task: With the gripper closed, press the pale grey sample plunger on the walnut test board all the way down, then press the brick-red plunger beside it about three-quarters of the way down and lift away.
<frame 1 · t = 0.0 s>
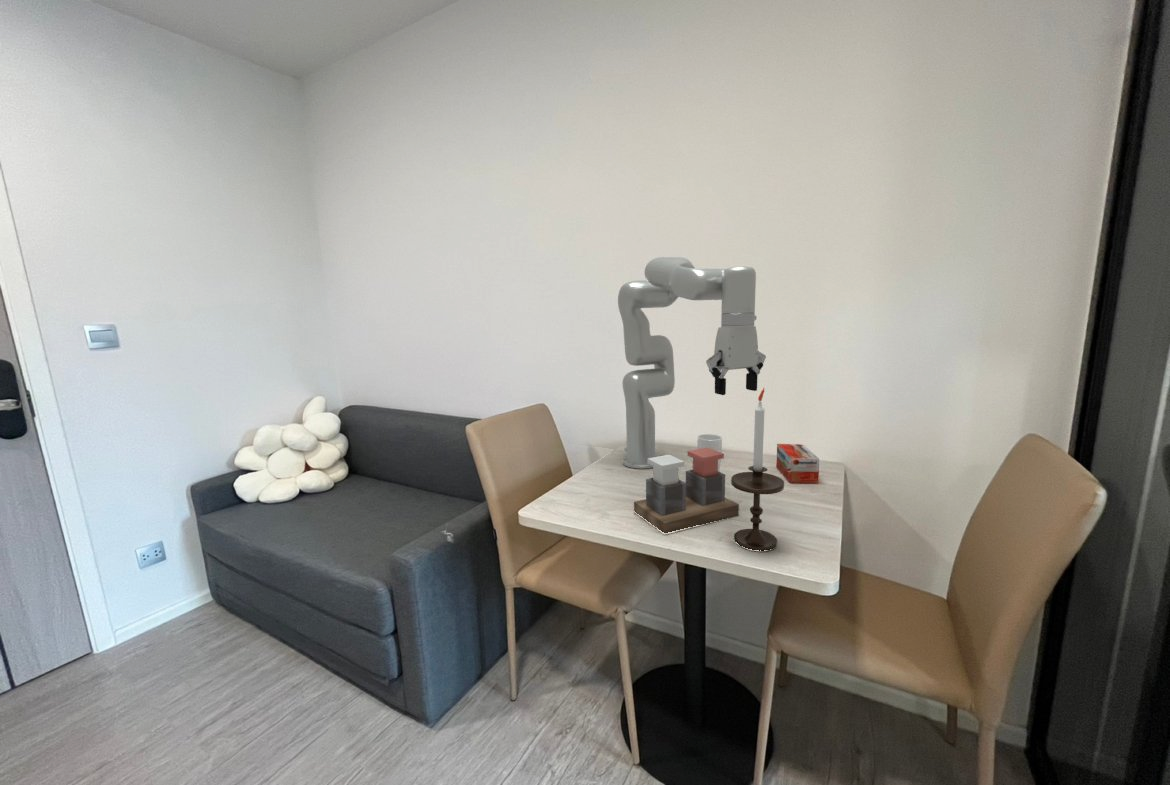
hand: (735, 392, 118), 31 cm above the table, tool pointing down, fingers open, 9 cm apart
drinking glass: (708, 487, 141), on the table
candlestick: (755, 542, 108), on the table
grey plunger: (665, 476, 119), point 11 cm above the table, slide at 0.0 cm
medicine box: (795, 476, 148), on the table
test board: (685, 514, 123), on the table
red plunger: (705, 467, 124), point 11 cm above the table, slide at 0.0 cm
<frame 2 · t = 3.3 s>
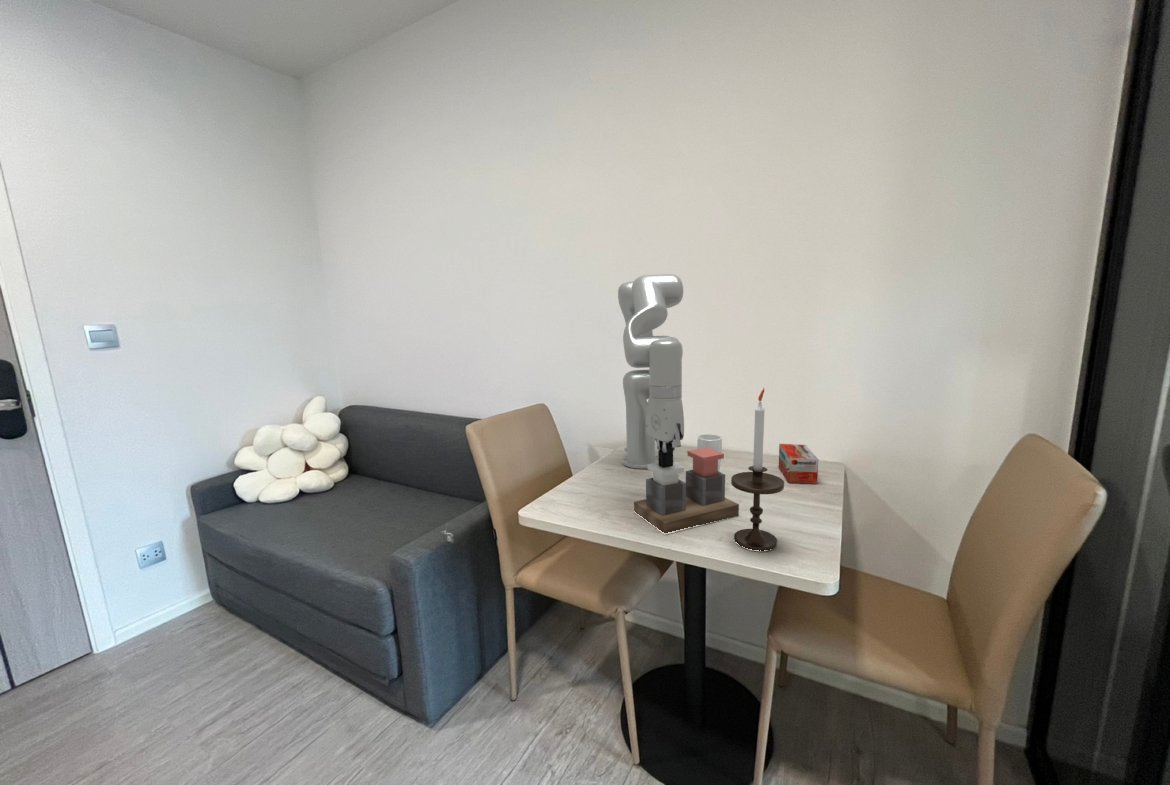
hand: (665, 466, 118), 14 cm above the table, tool pointing down, fingers closed
grey plunger: (665, 481, 119), point 10 cm above the table, slide at 1.5 cm, touching gripper
everything else where it was.
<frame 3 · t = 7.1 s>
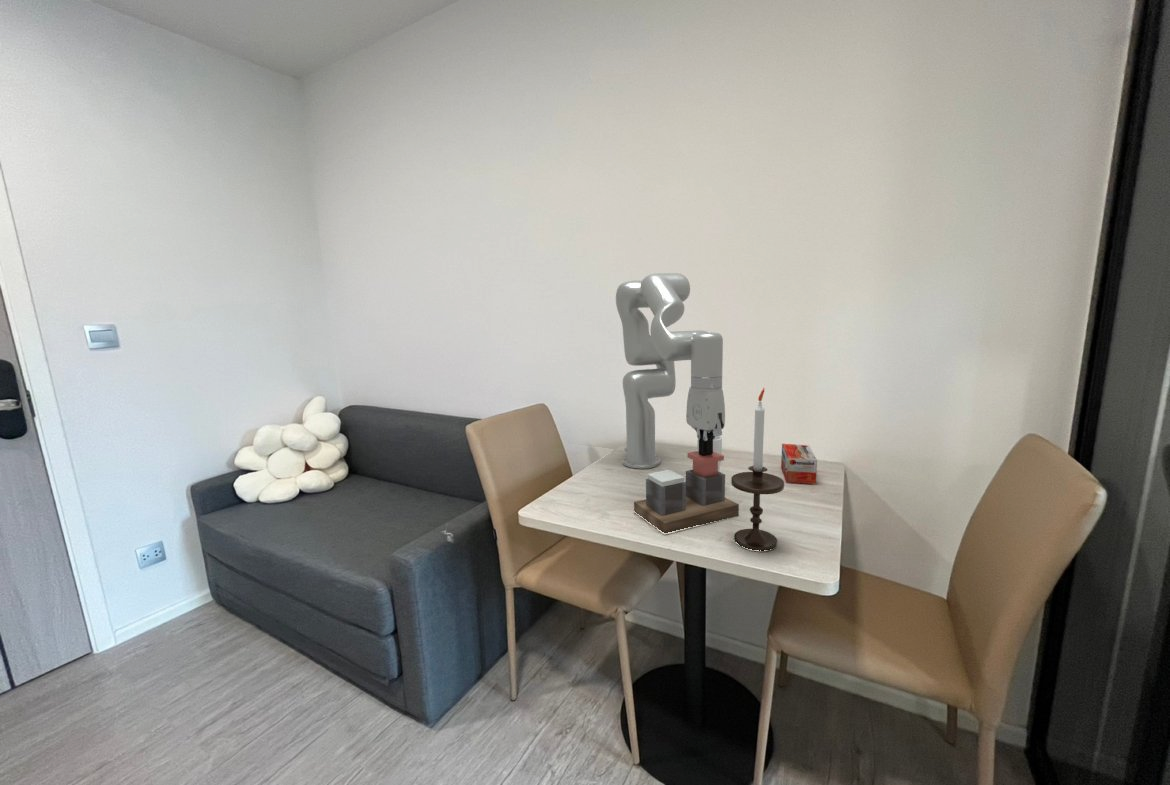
hand: (705, 454, 123), 15 cm above the table, tool pointing down, fingers closed
grey plunger: (665, 491, 119), point 7 cm above the table, slide at 4.0 cm
red plunger: (705, 469, 124), point 11 cm above the table, slide at 0.5 cm, touching gripper
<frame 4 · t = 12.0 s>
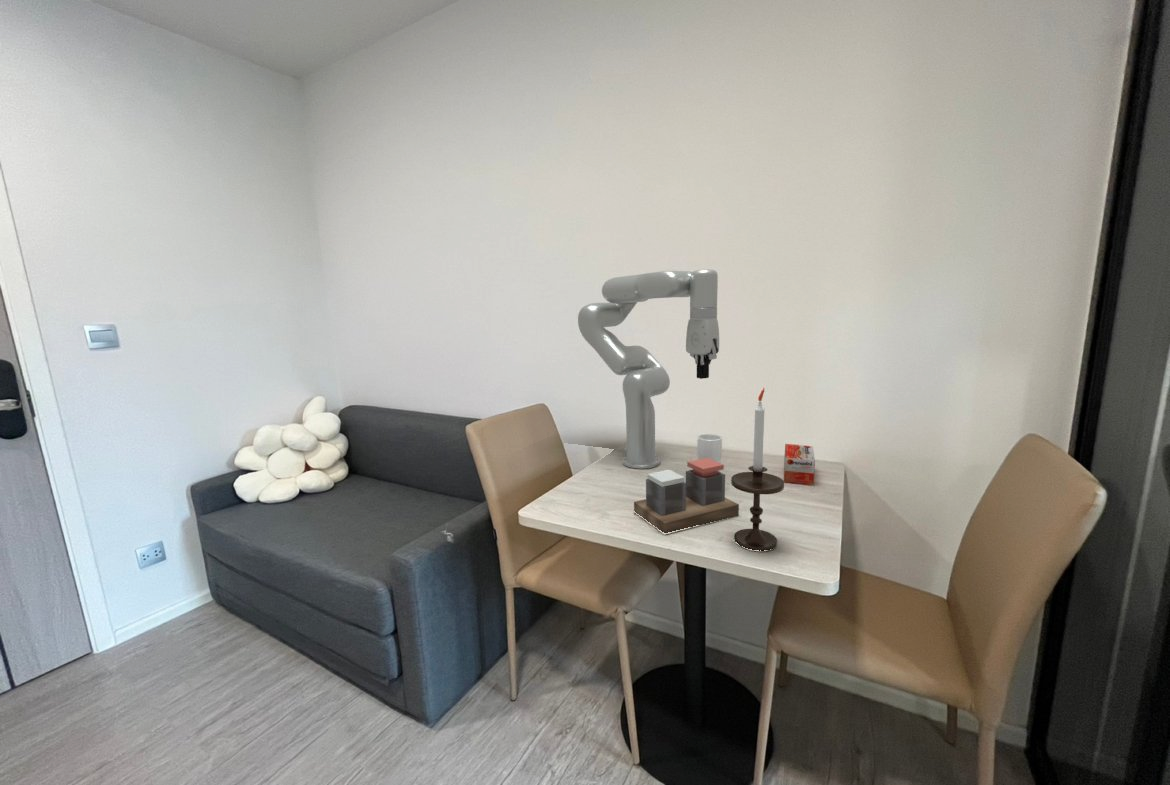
hand: (702, 377, 141), 31 cm above the table, tool pointing down, fingers closed
red plunger: (705, 478, 124), point 8 cm above the table, slide at 2.9 cm
at the end: grey plunger slide at 4.0 cm; red plunger slide at 2.9 cm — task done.
